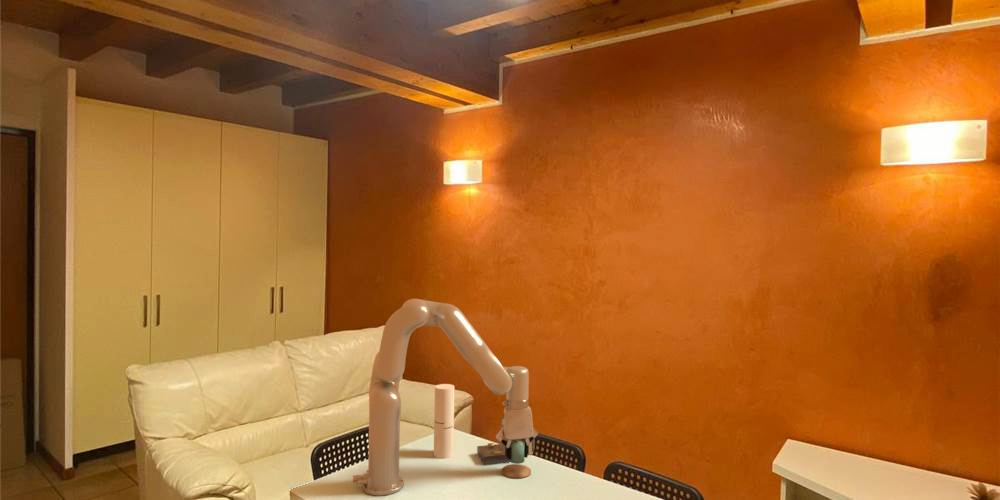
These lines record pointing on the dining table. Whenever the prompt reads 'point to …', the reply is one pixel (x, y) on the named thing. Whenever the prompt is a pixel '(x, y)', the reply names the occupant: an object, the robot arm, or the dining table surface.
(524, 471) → the coaster
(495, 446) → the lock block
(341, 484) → the dining table surface
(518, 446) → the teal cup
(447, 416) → the cylindrical container
